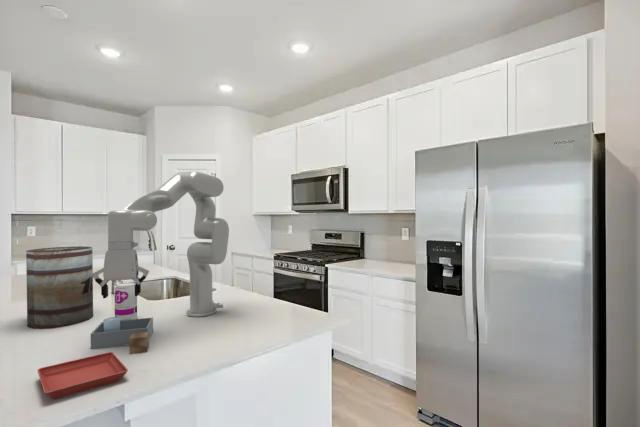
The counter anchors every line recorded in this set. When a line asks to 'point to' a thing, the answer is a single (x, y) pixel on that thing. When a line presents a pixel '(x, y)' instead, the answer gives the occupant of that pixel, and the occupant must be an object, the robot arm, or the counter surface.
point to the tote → (120, 333)
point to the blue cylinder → (111, 324)
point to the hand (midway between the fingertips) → (121, 296)
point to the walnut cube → (139, 342)
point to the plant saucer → (81, 375)
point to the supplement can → (125, 301)
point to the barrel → (59, 286)
